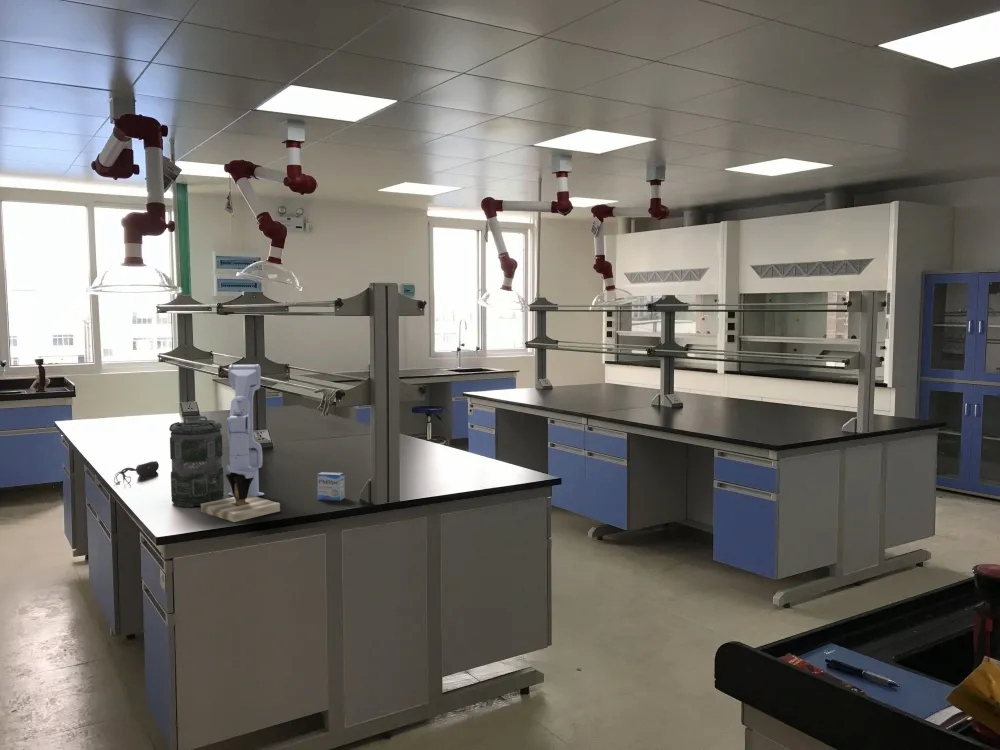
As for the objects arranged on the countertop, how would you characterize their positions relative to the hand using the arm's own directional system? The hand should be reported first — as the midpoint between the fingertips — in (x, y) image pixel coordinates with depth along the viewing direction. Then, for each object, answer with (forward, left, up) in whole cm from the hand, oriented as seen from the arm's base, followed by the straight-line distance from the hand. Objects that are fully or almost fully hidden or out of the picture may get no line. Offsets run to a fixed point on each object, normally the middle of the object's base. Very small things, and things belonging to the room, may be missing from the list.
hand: (240, 497), depth 240 cm
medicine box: (+9, +28, -5) cm, 30 cm away
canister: (-21, -2, -5) cm, 22 cm away
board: (0, 0, -4) cm, 4 cm away
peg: (0, 0, -3) cm, 3 cm away
